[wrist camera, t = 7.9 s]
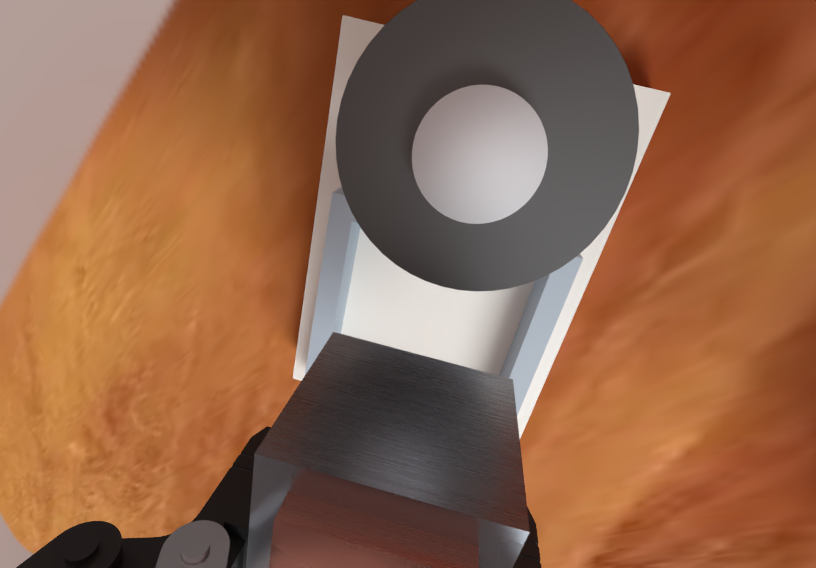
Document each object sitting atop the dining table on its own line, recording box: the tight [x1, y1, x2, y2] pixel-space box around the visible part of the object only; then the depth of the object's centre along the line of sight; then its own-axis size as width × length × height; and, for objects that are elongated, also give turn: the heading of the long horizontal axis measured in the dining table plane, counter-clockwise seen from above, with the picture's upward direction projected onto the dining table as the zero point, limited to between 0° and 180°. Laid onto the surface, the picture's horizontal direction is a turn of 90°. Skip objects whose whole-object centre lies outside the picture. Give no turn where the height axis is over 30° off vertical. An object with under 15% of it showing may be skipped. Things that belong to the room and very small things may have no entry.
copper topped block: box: [246, 332, 530, 568], centre depth 11 cm, size 5×7×5 cm
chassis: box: [293, 15, 671, 439], centre depth 20 cm, size 13×18×6 cm
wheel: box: [335, 0, 639, 291], centre depth 12 cm, size 7×7×6 cm
